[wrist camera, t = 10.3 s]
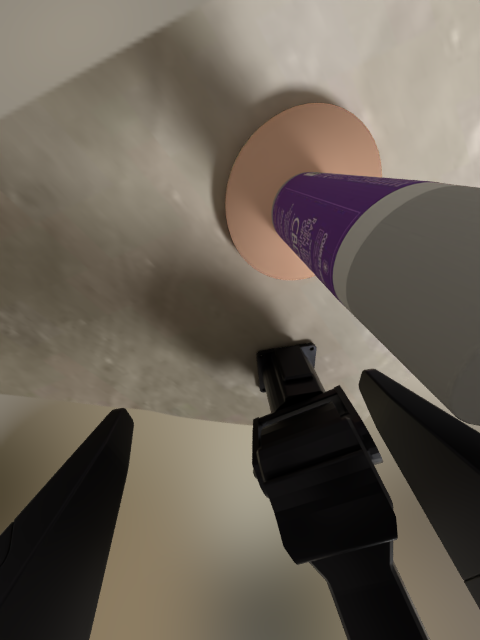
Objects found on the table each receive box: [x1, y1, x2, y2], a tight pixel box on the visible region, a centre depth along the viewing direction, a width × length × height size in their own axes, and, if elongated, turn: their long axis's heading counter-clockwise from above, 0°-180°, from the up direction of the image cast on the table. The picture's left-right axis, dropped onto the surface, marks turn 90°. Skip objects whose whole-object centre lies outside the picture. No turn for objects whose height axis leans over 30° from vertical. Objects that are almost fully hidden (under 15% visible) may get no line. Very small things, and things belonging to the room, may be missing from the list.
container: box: [271, 172, 480, 426], centre depth 10 cm, size 5×5×15 cm
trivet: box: [225, 103, 382, 280], centre depth 17 cm, size 11×11×1 cm
